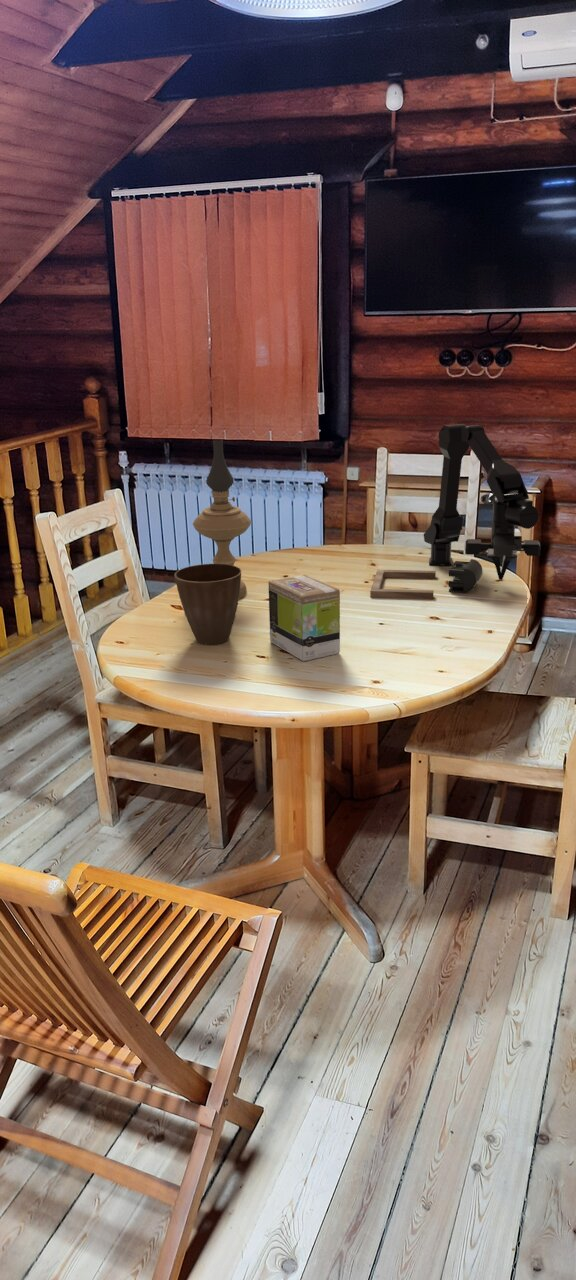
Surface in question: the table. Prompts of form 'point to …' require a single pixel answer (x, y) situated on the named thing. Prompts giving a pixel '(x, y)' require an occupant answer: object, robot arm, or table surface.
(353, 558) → the table surface
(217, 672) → the table surface
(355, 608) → the table surface
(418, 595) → the brown u-shaped frame
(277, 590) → the tea box
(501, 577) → the robot arm
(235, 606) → the plant pot
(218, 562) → the oil lamp
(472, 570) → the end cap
